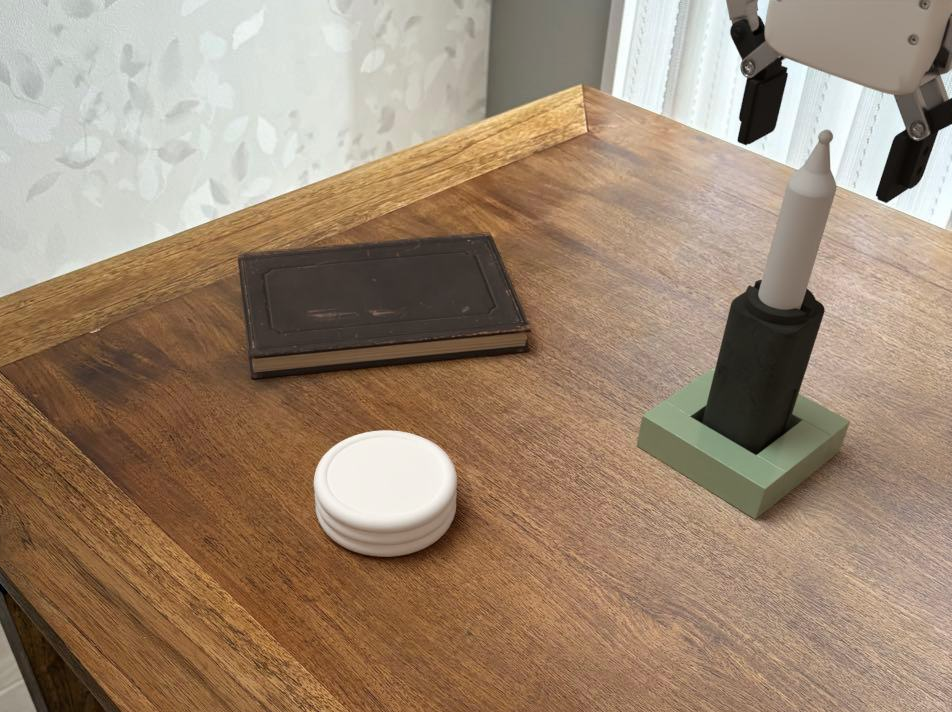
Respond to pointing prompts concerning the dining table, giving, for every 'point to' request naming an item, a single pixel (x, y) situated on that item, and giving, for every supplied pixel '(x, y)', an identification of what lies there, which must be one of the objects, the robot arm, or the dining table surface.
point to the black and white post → (775, 318)
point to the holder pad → (739, 448)
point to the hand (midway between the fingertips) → (822, 164)
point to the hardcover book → (378, 304)
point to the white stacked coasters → (385, 493)
